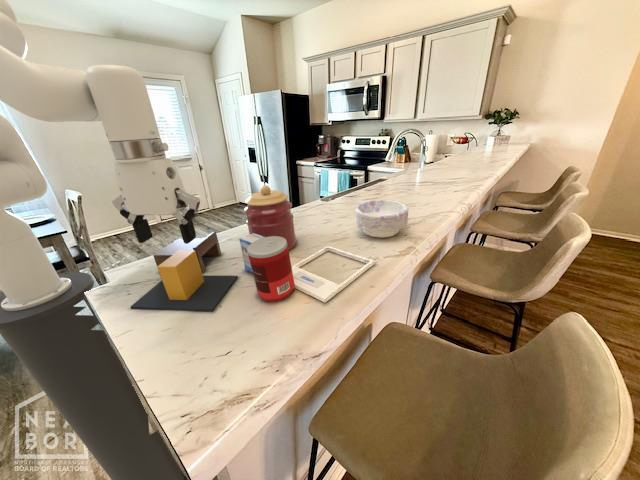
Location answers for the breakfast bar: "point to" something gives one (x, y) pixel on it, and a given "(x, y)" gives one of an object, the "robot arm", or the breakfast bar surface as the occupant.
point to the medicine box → (244, 244)
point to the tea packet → (181, 275)
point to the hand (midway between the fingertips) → (168, 240)
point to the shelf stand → (191, 249)
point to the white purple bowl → (381, 217)
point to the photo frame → (319, 285)
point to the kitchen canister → (270, 215)
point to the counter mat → (198, 301)
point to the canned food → (271, 268)
